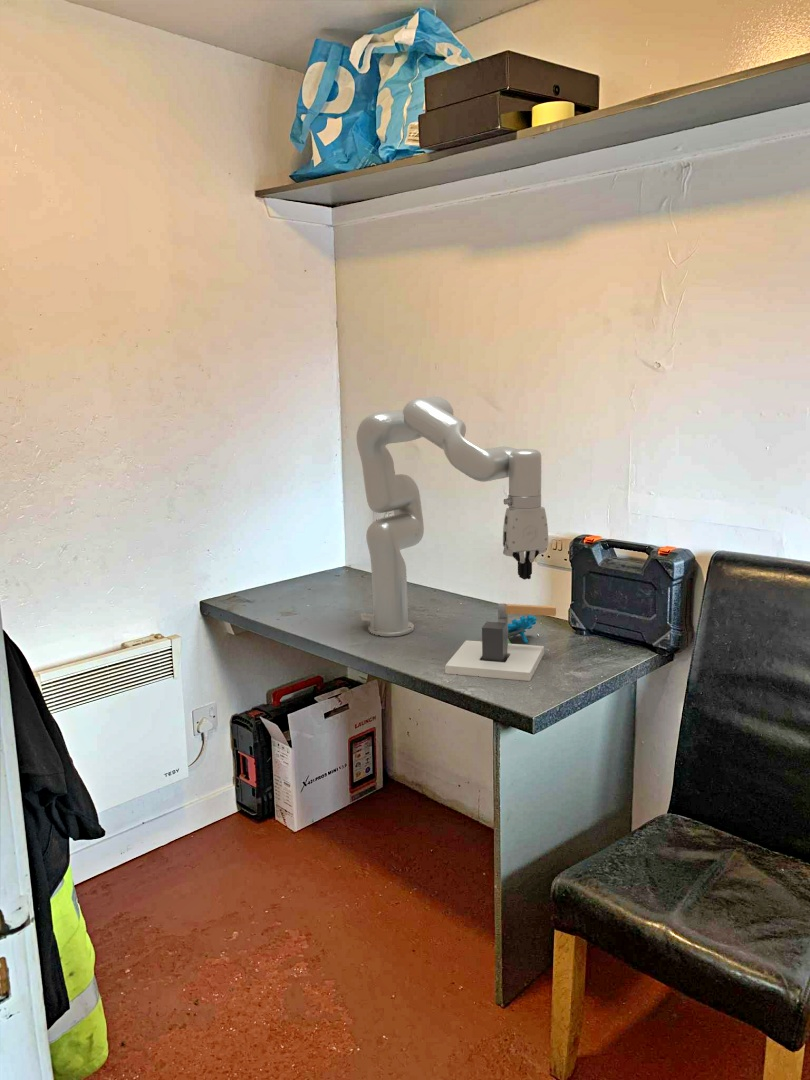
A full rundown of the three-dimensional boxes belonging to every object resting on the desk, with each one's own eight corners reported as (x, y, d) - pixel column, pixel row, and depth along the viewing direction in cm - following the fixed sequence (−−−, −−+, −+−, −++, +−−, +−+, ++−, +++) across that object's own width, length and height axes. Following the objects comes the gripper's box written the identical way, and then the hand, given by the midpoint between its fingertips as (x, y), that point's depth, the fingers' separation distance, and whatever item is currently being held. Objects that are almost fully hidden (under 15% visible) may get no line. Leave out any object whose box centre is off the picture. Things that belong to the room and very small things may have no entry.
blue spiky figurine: (529, 626, 221) (538, 609, 213) (538, 645, 218) (548, 628, 210) (492, 637, 218) (500, 620, 210) (501, 657, 215) (509, 640, 207)
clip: (555, 620, 200) (555, 608, 199) (497, 617, 204) (497, 605, 203) (556, 617, 202) (556, 605, 201) (498, 614, 206) (498, 603, 205)
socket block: (445, 673, 193) (444, 636, 192) (466, 647, 211) (465, 613, 209) (529, 681, 187) (529, 642, 185) (543, 653, 204) (543, 618, 203)
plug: (482, 667, 196) (481, 627, 194) (487, 660, 201) (486, 621, 199) (503, 669, 195) (502, 629, 193) (507, 662, 199) (507, 622, 197)
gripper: (501, 507, 187) (502, 584, 191) (561, 502, 191) (560, 578, 195) (489, 502, 194) (489, 577, 198) (546, 497, 198) (546, 571, 202)
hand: (524, 577), depth 196 cm, fingers closed
